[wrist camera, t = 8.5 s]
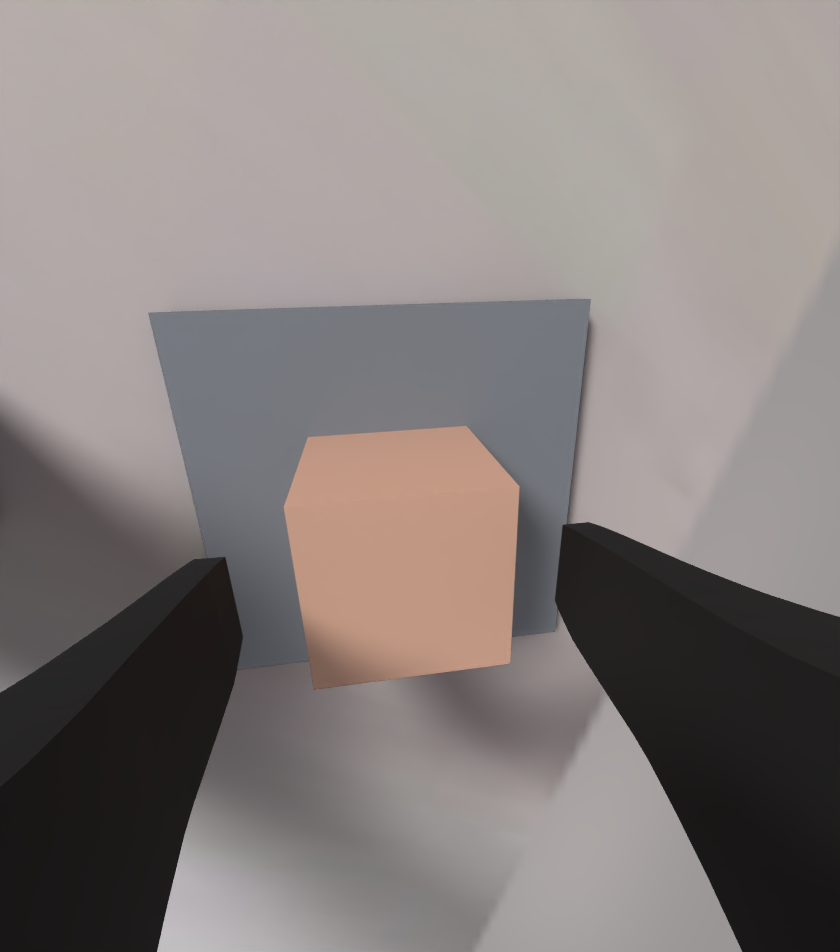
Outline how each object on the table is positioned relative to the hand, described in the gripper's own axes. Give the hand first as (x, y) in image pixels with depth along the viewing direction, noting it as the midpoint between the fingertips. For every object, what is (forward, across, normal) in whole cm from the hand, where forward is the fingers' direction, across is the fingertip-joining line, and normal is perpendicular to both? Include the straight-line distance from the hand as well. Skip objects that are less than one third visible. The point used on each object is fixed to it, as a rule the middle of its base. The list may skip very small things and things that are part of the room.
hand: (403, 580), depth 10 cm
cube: (+4, 0, 0) cm, 4 cm away
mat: (+4, 0, 0) cm, 4 cm away
